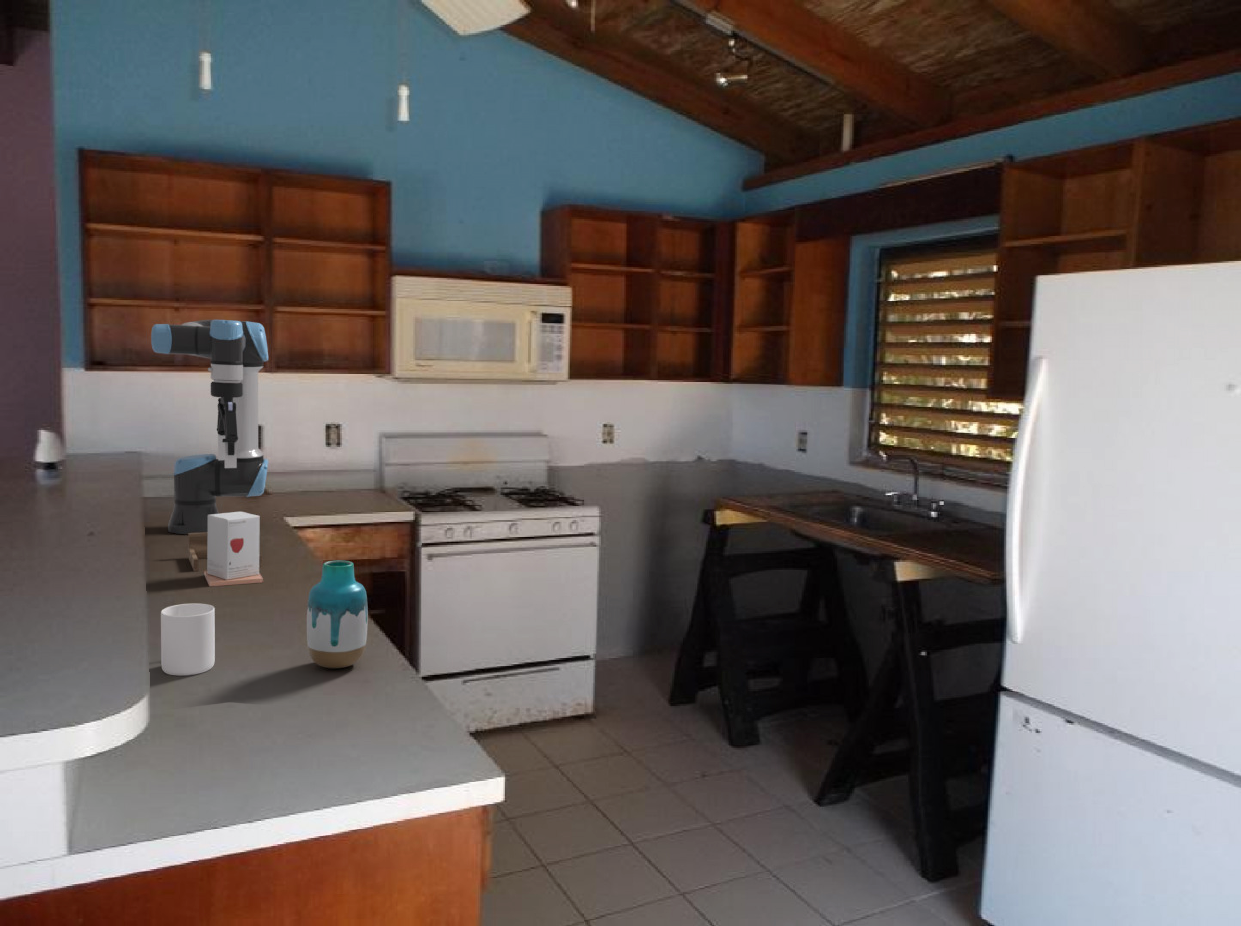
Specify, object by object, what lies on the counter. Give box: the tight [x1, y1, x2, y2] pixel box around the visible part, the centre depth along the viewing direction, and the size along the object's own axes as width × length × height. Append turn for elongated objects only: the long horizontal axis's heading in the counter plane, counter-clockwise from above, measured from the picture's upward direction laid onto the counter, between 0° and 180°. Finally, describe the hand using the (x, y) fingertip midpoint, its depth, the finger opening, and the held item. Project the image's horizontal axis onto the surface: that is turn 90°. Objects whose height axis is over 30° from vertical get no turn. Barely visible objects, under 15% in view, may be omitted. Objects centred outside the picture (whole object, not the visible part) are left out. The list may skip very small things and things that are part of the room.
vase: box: [306, 559, 369, 669], centre depth 166 cm, size 11×11×19 cm
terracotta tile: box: [204, 570, 264, 587], centre depth 225 cm, size 12×12×1 cm
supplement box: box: [206, 510, 261, 580], centre depth 225 cm, size 9×9×15 cm
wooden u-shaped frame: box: [187, 532, 262, 572], centre depth 242 cm, size 16×16×7 cm
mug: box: [160, 602, 216, 677], centre depth 163 cm, size 9×12×11 cm
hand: (227, 464), depth 234 cm, fingers open, 13 cm apart
